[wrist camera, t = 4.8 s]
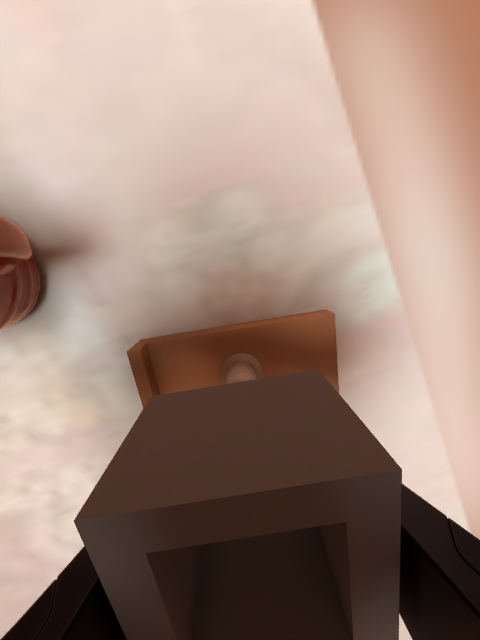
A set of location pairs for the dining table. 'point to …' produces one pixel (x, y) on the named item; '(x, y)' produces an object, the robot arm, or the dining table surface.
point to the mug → (16, 274)
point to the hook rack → (236, 354)
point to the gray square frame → (249, 518)
